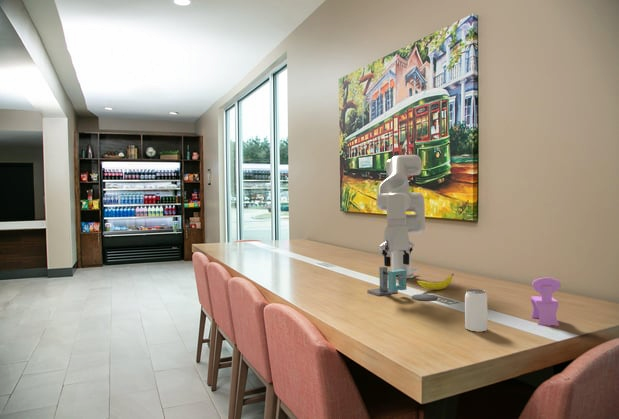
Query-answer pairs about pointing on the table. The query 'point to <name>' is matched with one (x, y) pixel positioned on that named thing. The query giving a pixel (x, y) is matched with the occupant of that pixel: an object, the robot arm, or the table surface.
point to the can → (476, 310)
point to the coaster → (424, 297)
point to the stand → (383, 283)
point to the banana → (436, 284)
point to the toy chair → (545, 301)
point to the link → (392, 280)
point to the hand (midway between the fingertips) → (397, 265)
